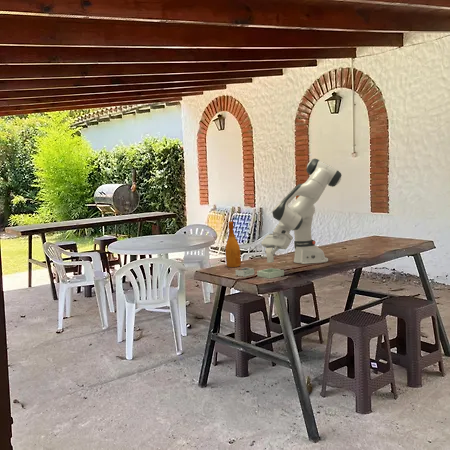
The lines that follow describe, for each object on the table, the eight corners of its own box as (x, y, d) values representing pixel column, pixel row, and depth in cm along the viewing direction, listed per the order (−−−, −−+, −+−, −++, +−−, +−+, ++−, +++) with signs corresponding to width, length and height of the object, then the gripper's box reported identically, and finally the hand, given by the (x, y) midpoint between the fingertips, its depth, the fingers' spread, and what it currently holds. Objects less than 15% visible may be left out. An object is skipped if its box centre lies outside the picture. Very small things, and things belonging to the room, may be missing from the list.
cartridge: (274, 261, 300) (272, 244, 299) (273, 262, 296) (272, 245, 295) (267, 261, 301) (266, 244, 300) (266, 262, 297) (265, 245, 296)
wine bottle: (237, 268, 332) (233, 222, 329) (223, 267, 337) (220, 222, 334) (243, 265, 340) (240, 220, 337) (230, 264, 345) (227, 220, 342)
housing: (246, 272, 313) (245, 267, 313) (254, 274, 307) (254, 268, 307) (235, 275, 309) (235, 269, 308) (244, 276, 302) (243, 271, 302)
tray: (271, 273, 308) (271, 267, 307) (284, 275, 299) (283, 269, 298) (257, 276, 301) (257, 271, 301) (269, 278, 292) (269, 273, 292)
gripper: (265, 230, 310) (254, 248, 305) (289, 231, 293) (277, 251, 288) (271, 236, 313) (260, 255, 308) (295, 238, 296) (284, 257, 291)
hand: (269, 253), depth 298 cm, fingers closed on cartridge, 4 cm apart
